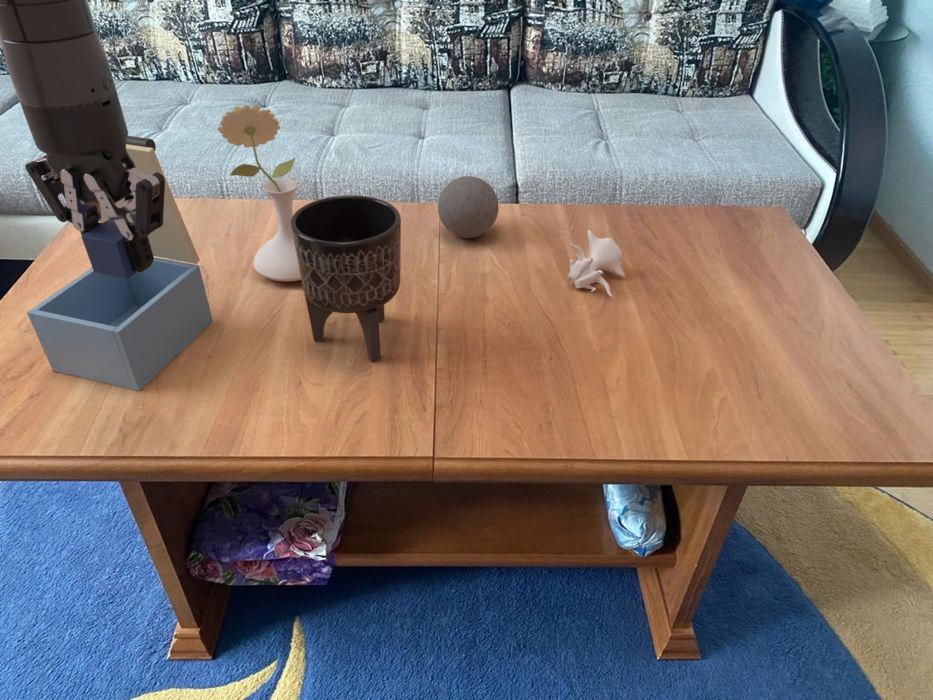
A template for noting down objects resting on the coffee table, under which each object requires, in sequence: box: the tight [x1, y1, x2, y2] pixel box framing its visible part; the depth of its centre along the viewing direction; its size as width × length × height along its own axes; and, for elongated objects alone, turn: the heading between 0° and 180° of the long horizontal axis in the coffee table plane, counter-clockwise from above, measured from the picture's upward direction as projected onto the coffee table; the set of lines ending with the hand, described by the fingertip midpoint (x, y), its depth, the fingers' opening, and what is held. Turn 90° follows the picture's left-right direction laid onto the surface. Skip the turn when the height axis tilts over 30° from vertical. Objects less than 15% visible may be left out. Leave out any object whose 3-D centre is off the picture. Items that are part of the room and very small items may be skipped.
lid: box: [99, 135, 201, 265], centre depth 85 cm, size 16×13×5 cm
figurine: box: [567, 229, 626, 298], centre depth 103 cm, size 10×8×10 cm
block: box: [81, 219, 137, 279], centre depth 68 cm, size 4×4×4 cm
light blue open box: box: [26, 256, 214, 392], centre depth 87 cm, size 16×13×9 cm
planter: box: [290, 194, 402, 363], centre depth 86 cm, size 13×13×18 cm
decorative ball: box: [437, 175, 499, 239], centre depth 113 cm, size 10×10×10 cm
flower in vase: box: [217, 104, 302, 282], centre depth 98 cm, size 13×11×25 cm
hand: (123, 263), depth 69 cm, fingers closed on block, 4 cm apart
